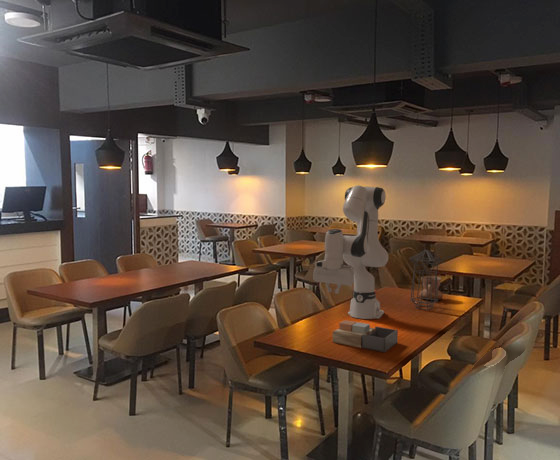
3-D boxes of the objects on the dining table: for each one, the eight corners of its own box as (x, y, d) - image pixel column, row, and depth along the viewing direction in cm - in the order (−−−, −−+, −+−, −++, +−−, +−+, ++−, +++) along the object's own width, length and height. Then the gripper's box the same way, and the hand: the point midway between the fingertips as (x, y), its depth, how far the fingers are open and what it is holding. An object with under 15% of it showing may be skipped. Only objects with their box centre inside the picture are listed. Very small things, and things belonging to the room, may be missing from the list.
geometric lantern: (406, 308, 292) (408, 249, 290) (417, 304, 304) (419, 248, 302) (432, 312, 282) (434, 251, 280) (442, 308, 294) (444, 249, 292)
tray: (375, 338, 230) (375, 326, 230) (397, 342, 224) (397, 330, 224) (361, 347, 217) (361, 334, 216) (384, 352, 211) (385, 338, 211)
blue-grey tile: (357, 328, 229) (357, 322, 229) (369, 330, 226) (369, 324, 226) (352, 331, 224) (352, 325, 224) (364, 333, 221) (364, 327, 221)
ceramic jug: (421, 295, 327) (421, 274, 325) (444, 297, 321) (444, 276, 319) (416, 301, 310) (417, 279, 309) (440, 303, 304) (441, 281, 303)
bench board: (347, 333, 238) (347, 323, 238) (374, 338, 230) (374, 328, 230) (332, 342, 225) (332, 331, 224) (360, 347, 217) (361, 336, 217)
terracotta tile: (344, 326, 233) (344, 320, 233) (356, 328, 230) (356, 322, 229) (339, 329, 228) (339, 322, 228) (351, 331, 225) (351, 324, 224)
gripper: (356, 264, 228) (356, 294, 229) (318, 261, 239) (317, 289, 240) (351, 266, 222) (350, 296, 224) (311, 262, 233) (311, 291, 235)
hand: (333, 292), depth 232 cm, fingers closed
